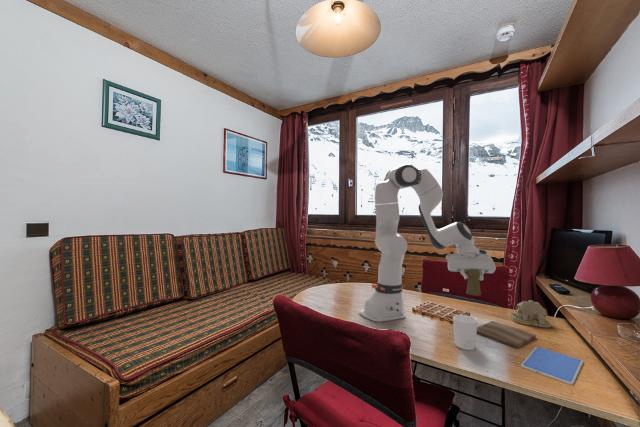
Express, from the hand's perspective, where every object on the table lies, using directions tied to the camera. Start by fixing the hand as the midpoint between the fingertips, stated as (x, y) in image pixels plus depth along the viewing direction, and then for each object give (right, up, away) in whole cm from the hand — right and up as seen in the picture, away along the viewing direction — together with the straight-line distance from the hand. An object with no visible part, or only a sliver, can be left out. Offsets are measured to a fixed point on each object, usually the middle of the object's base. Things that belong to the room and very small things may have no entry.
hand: (474, 279), depth 128 cm
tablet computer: (+4, -19, -38) cm, 43 cm away
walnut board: (+3, -18, -16) cm, 25 cm away
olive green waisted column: (0, -7, +1) cm, 7 cm away
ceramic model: (+23, -19, -3) cm, 30 cm away
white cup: (-17, -19, -25) cm, 36 cm away
